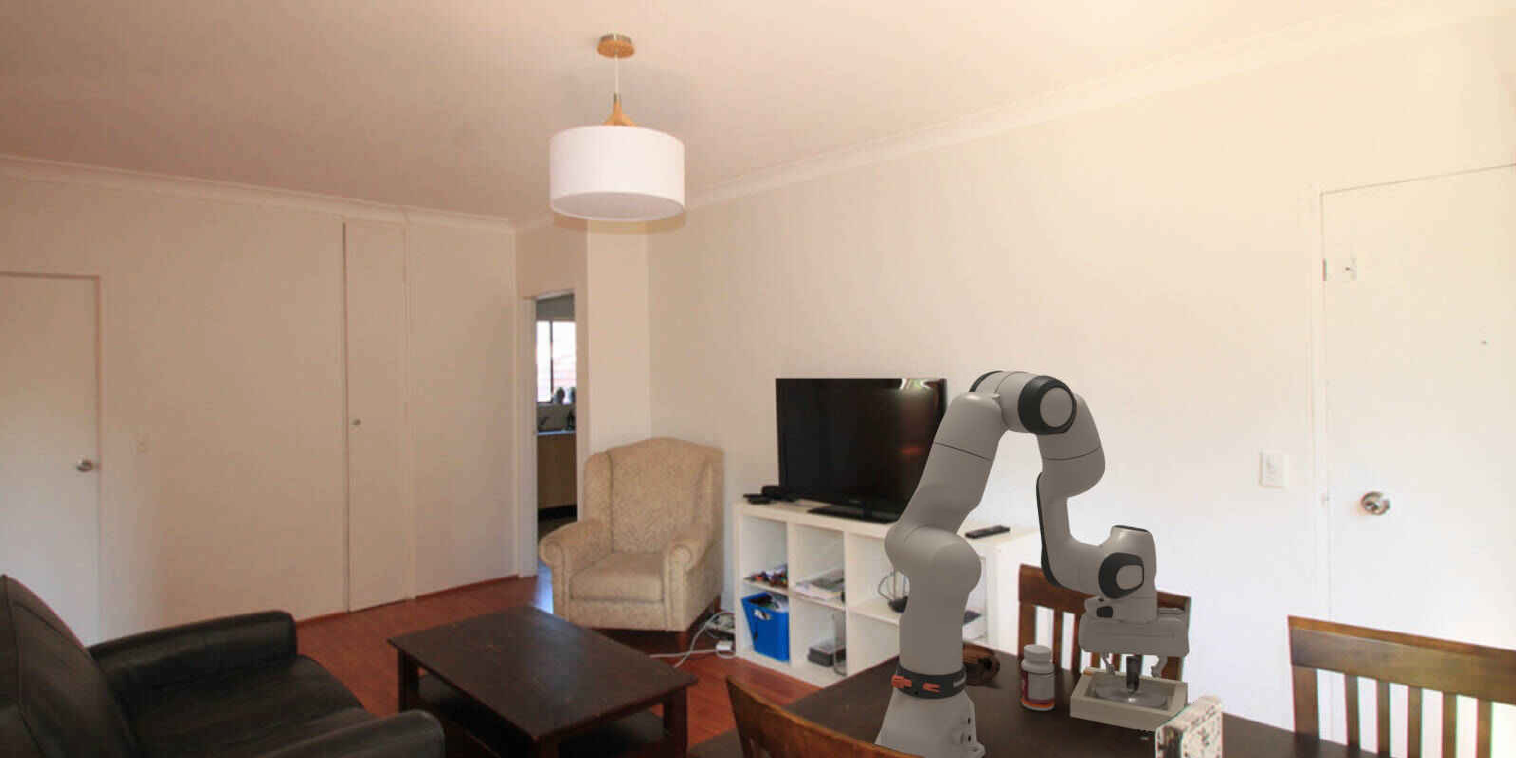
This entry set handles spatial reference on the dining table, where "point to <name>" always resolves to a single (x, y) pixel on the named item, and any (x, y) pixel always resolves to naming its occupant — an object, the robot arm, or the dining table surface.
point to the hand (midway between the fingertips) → (1133, 675)
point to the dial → (1131, 689)
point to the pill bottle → (1037, 678)
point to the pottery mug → (979, 664)
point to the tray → (1121, 713)
